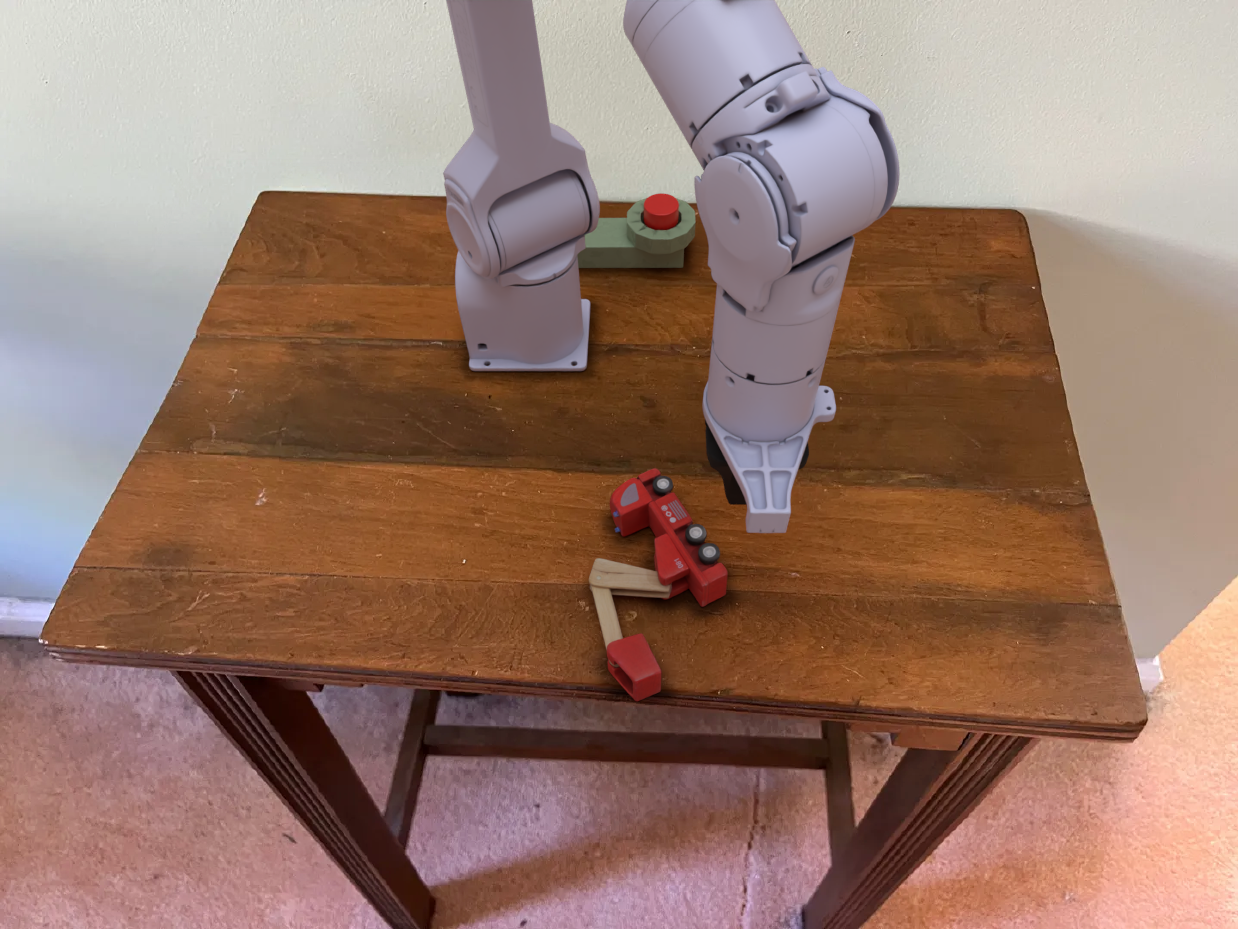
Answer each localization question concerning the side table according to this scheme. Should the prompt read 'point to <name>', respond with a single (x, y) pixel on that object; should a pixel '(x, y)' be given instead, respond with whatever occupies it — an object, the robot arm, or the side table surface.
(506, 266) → the robot arm
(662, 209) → the button
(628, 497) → the toy fire truck
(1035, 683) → the side table surface
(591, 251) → the button box
